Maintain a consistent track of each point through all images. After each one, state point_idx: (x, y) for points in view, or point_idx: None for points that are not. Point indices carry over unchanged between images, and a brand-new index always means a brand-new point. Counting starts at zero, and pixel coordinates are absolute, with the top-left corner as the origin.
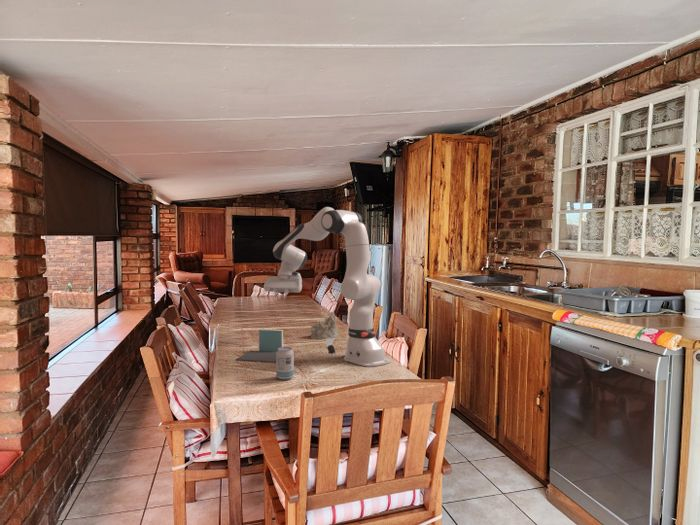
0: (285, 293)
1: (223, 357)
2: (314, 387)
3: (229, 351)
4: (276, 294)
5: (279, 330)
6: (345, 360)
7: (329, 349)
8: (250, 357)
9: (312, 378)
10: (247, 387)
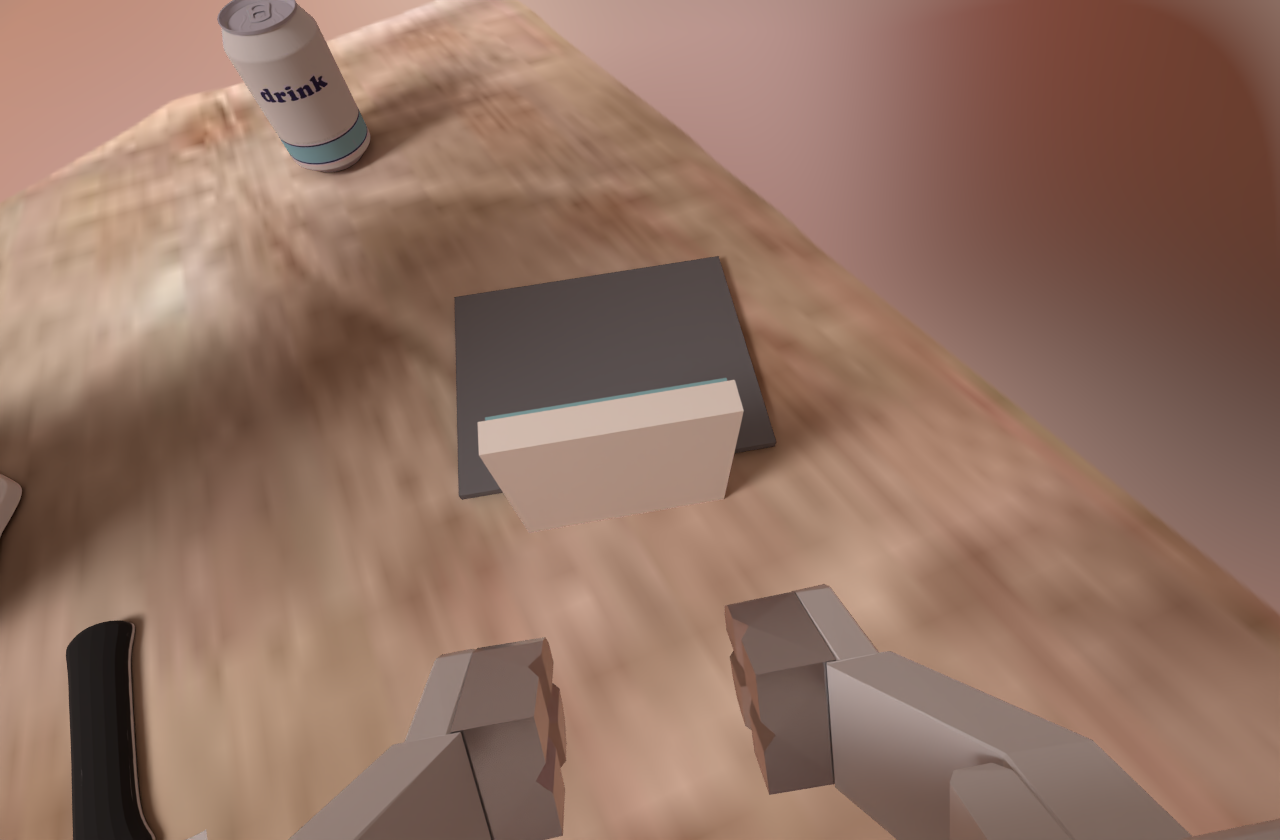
0: (379, 775)
1: (833, 280)
2: (191, 121)
3: (917, 396)
4: (772, 627)
5: (506, 419)
6: (8, 478)
7: (122, 720)
8: (658, 307)
9: (211, 187)
10: (448, 55)
